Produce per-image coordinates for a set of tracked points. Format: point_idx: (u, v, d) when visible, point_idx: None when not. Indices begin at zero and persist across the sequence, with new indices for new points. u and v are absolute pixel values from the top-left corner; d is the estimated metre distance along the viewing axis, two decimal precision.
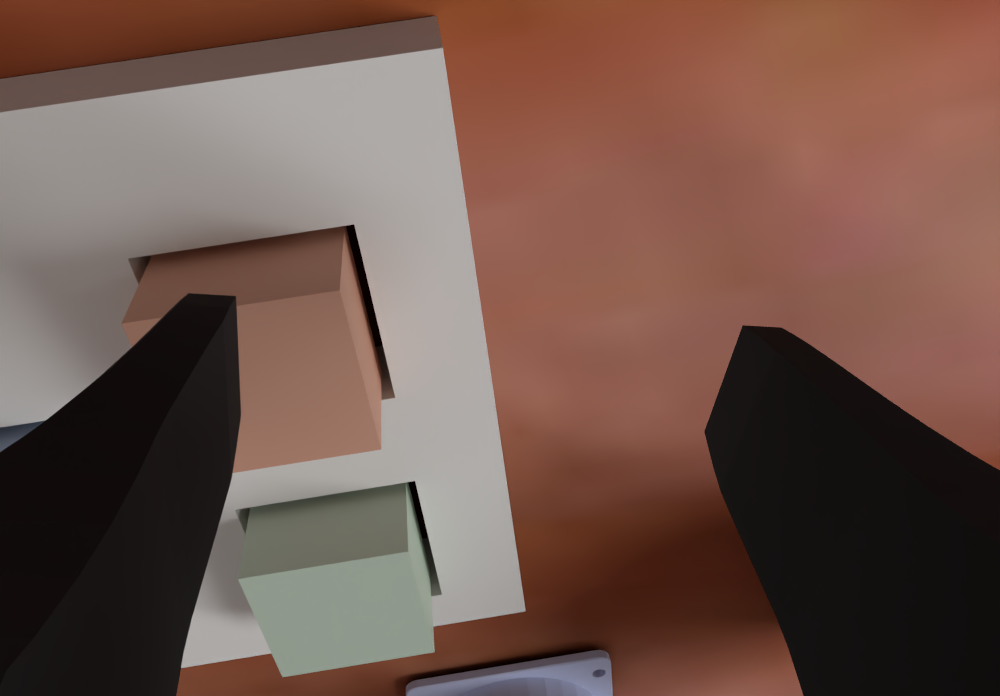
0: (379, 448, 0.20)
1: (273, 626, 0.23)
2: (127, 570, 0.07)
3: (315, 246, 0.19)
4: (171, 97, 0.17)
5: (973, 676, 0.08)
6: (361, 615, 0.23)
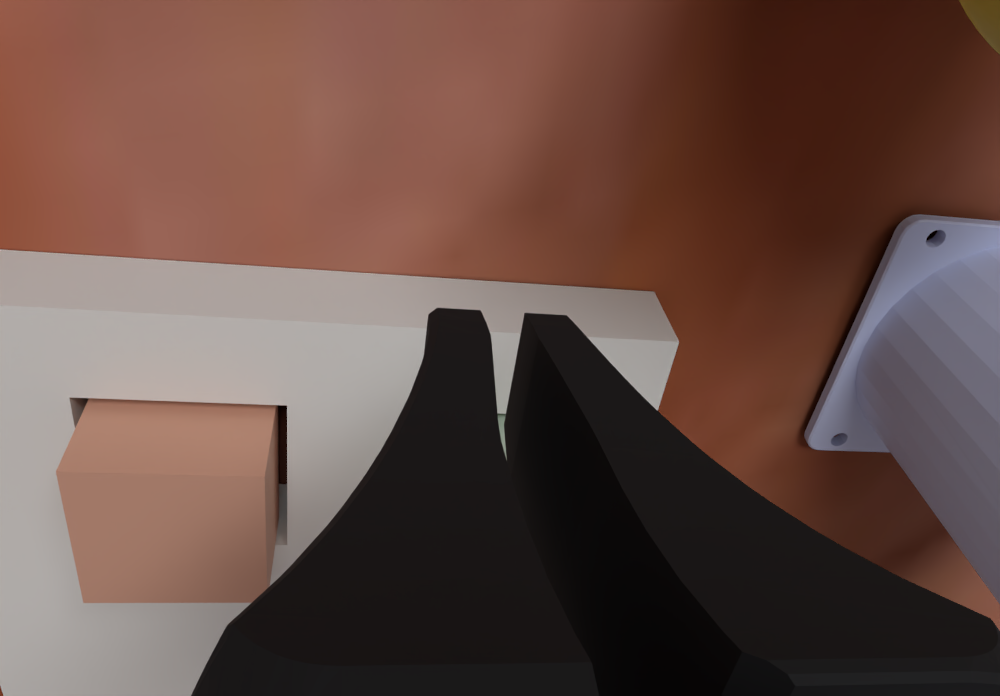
0: (262, 477, 0.19)
1: None
2: None
3: None
4: None
5: (637, 683, 0.07)
6: None
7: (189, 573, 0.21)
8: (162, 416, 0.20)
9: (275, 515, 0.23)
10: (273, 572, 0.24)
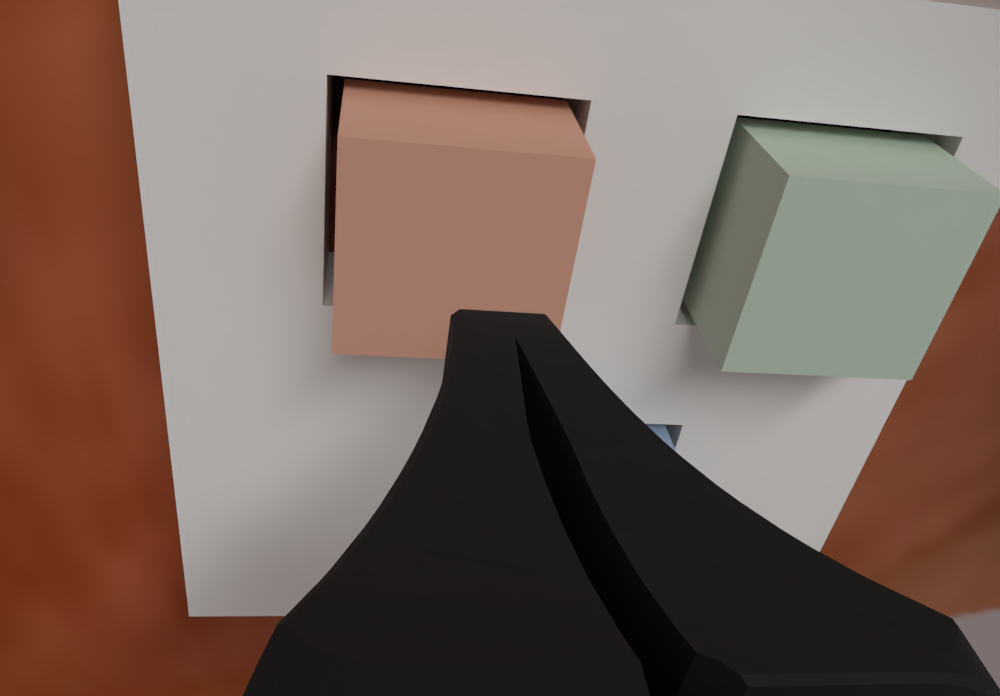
0: (593, 160, 0.15)
1: (819, 362, 0.18)
2: None
3: None
4: (151, 206, 0.17)
5: None
6: (867, 264, 0.17)
7: None
8: (440, 105, 0.16)
9: None
10: None
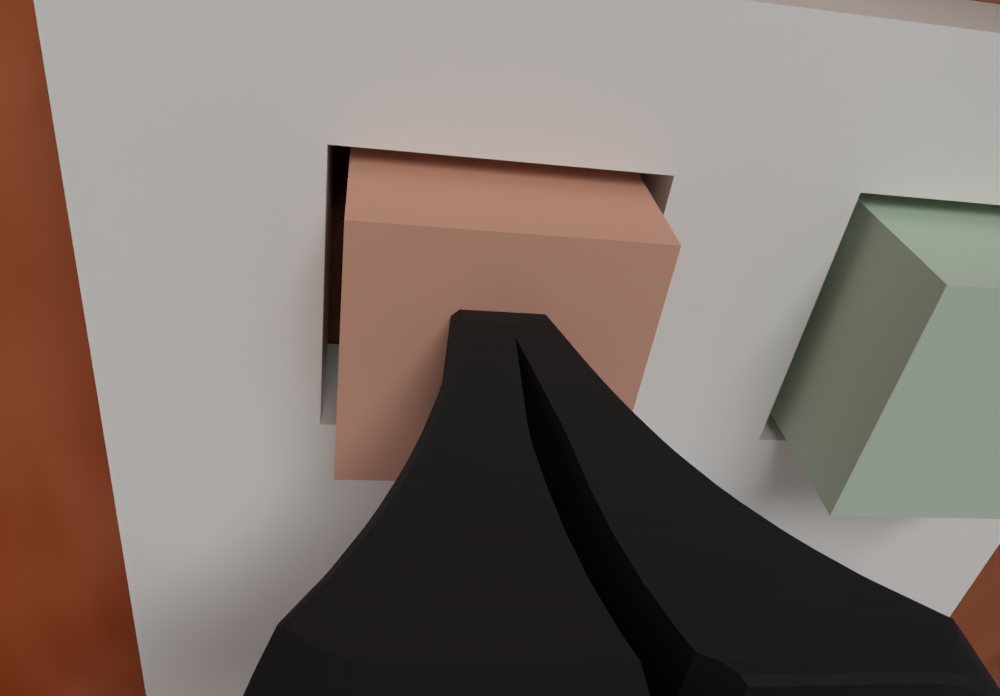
0: (677, 248, 0.11)
1: (954, 502, 0.14)
2: None
3: None
4: (96, 309, 0.13)
5: None
6: None
7: None
8: (474, 168, 0.12)
9: None
10: None
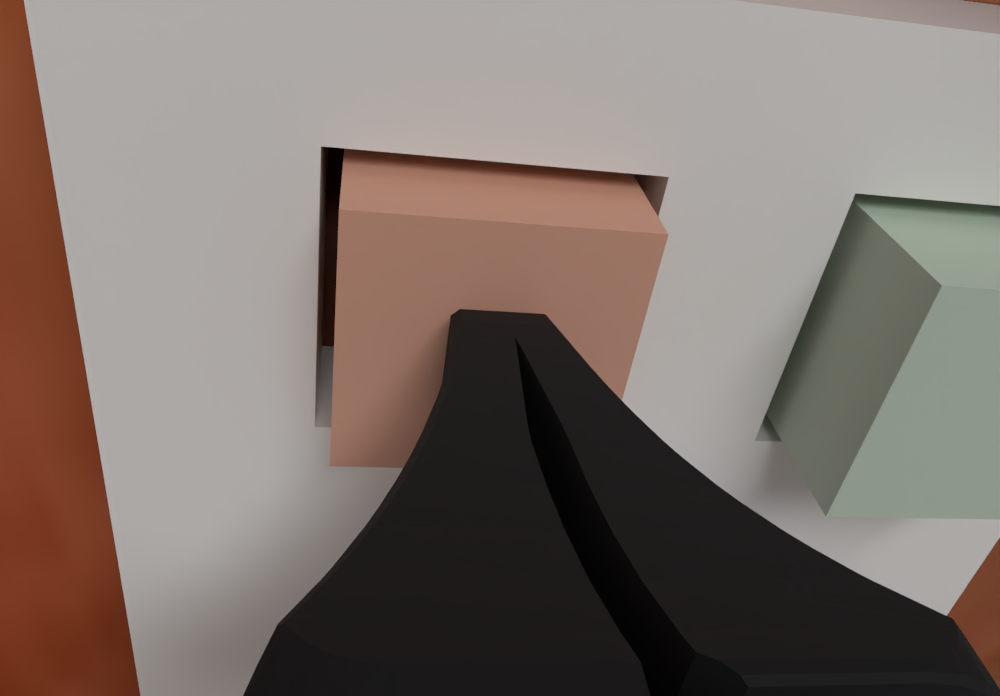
0: (664, 236, 0.12)
1: (949, 503, 0.14)
2: None
3: None
4: (89, 312, 0.13)
5: None
6: None
7: None
8: (466, 160, 0.13)
9: None
10: None
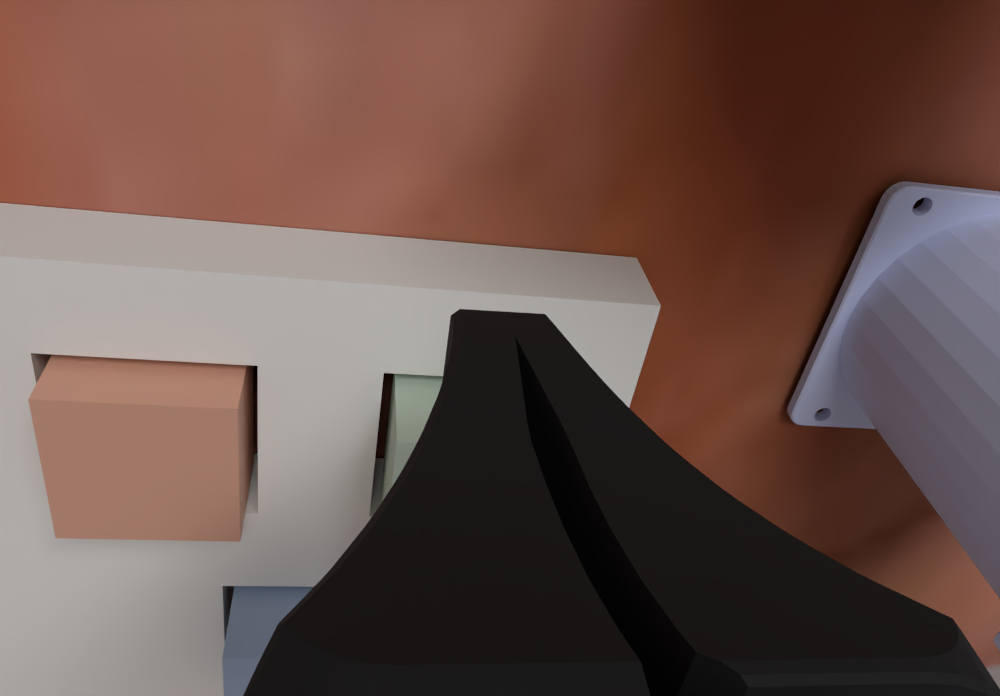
0: (235, 410, 0.19)
1: None
2: None
3: None
4: None
5: None
6: None
7: (162, 508, 0.21)
8: None
9: (249, 457, 0.23)
10: (244, 542, 0.24)
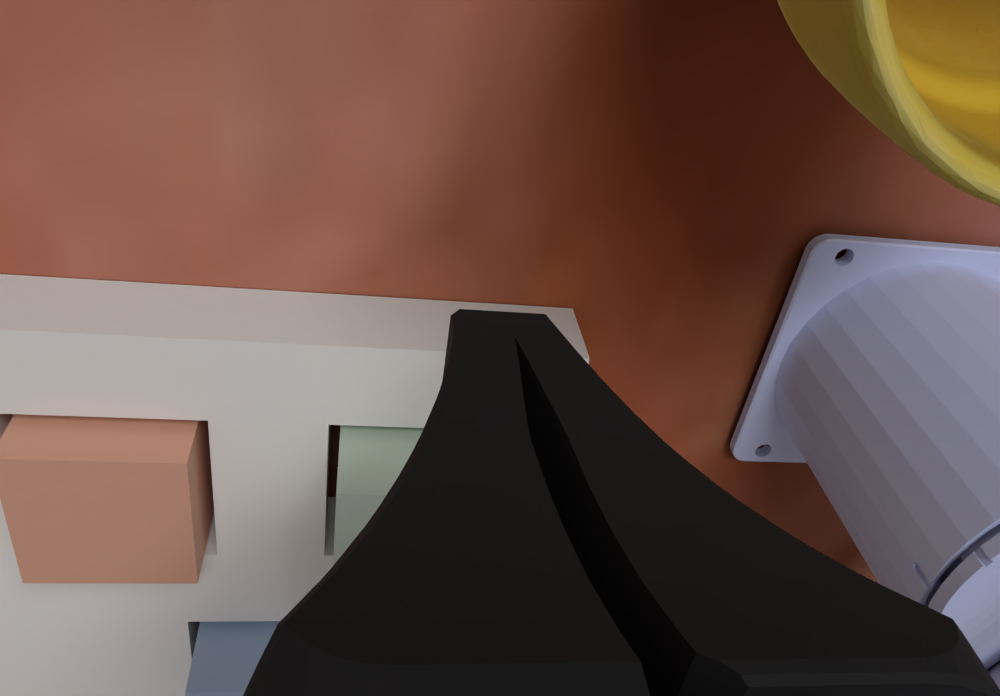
0: (184, 464, 0.21)
1: None
2: None
3: None
4: None
5: None
6: None
7: (121, 555, 0.22)
8: None
9: (208, 502, 0.24)
10: (205, 581, 0.25)
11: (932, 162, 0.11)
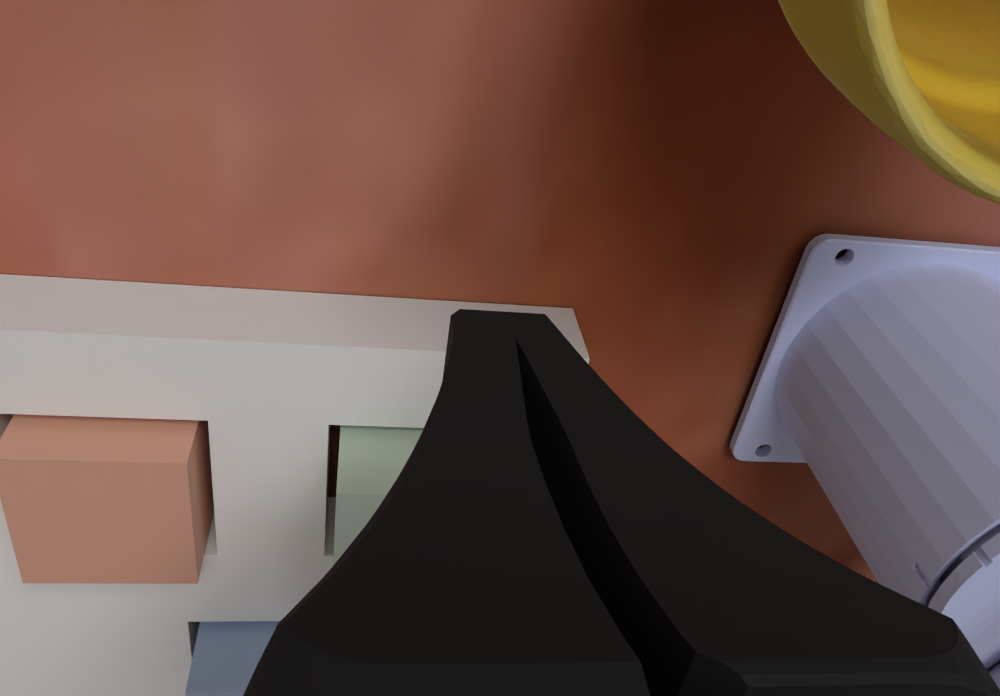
0: (184, 464, 0.21)
1: None
2: None
3: None
4: None
5: None
6: None
7: (121, 555, 0.22)
8: None
9: (208, 502, 0.24)
10: (205, 581, 0.25)
11: (933, 160, 0.11)
